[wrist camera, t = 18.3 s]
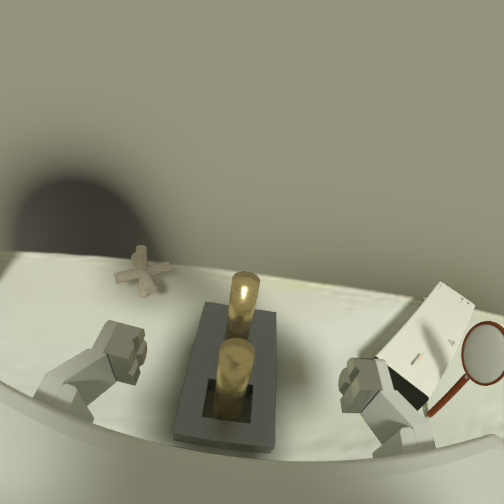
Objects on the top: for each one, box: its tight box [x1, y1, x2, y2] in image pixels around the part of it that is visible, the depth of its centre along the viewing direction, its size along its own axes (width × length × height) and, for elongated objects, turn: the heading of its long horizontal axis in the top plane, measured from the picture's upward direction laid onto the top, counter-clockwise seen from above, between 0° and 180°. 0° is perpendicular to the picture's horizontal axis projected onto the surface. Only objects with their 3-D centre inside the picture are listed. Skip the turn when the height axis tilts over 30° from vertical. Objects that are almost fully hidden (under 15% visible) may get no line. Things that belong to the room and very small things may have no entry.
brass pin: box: [214, 338, 255, 420], centre depth 33 cm, size 4×4×13 cm
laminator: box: [373, 281, 475, 411], centre depth 49 cm, size 34×12×6 cm, turn 130°
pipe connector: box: [114, 245, 171, 297], centre depth 50 cm, size 10×10×10 cm
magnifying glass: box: [426, 321, 504, 418], centre depth 31 cm, size 9×2×20 cm, turn 12°
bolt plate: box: [172, 271, 276, 453], centre depth 38 cm, size 24×12×13 cm, turn 176°
